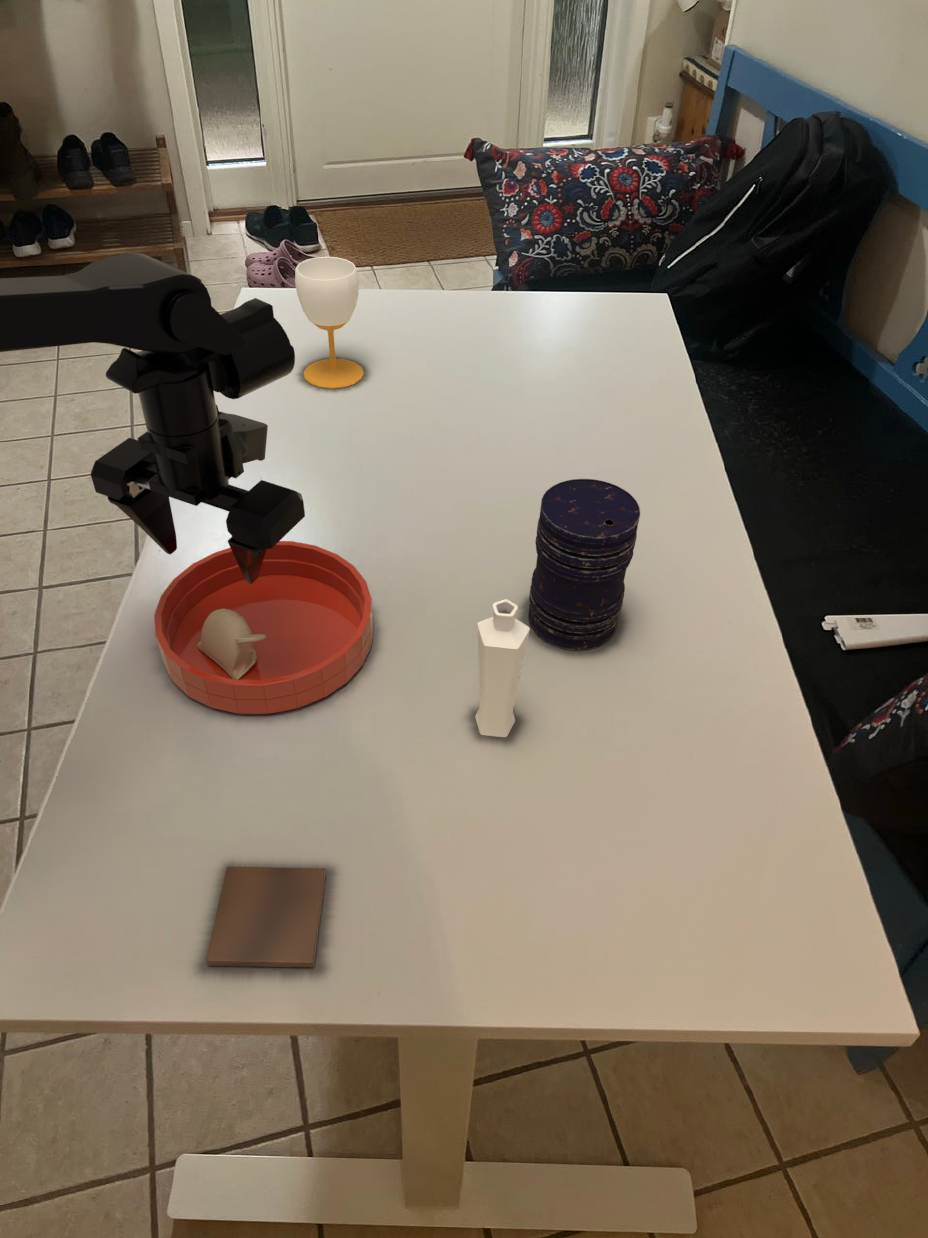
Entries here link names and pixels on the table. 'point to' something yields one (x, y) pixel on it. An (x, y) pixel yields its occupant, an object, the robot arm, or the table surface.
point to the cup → (329, 314)
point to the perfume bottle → (499, 668)
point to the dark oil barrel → (581, 562)
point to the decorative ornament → (229, 642)
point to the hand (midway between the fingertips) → (212, 566)
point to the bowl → (269, 627)
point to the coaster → (267, 917)
